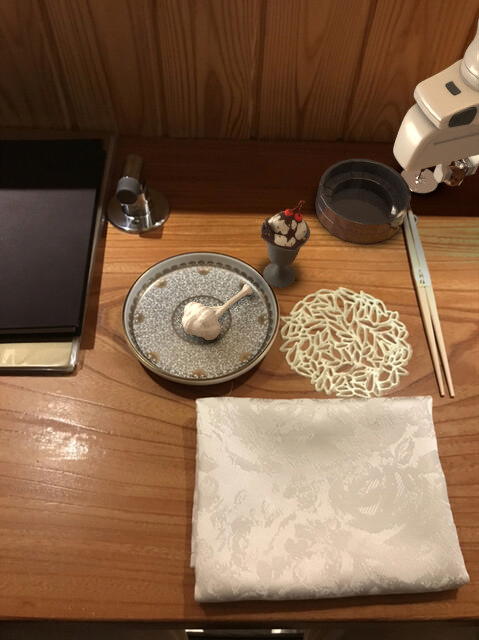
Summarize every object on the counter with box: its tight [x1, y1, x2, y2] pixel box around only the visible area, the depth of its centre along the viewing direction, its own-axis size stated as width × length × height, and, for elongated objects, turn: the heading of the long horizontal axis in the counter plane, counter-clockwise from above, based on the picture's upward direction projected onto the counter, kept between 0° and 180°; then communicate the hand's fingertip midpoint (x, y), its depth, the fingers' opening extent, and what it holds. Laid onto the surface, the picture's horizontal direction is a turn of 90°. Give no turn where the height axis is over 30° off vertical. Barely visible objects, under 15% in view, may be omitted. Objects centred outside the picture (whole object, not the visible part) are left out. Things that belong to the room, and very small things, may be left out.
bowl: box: [314, 158, 412, 244], centre depth 90 cm, size 14×14×5 cm
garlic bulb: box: [181, 283, 254, 341], centre depth 79 cm, size 7×5×12 cm
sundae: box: [260, 200, 311, 289], centre depth 78 cm, size 7×7×15 cm
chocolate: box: [444, 160, 466, 187], centre depth 77 cm, size 3×2×4 cm
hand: (453, 175), depth 77 cm, fingers closed on chocolate, 2 cm apart
